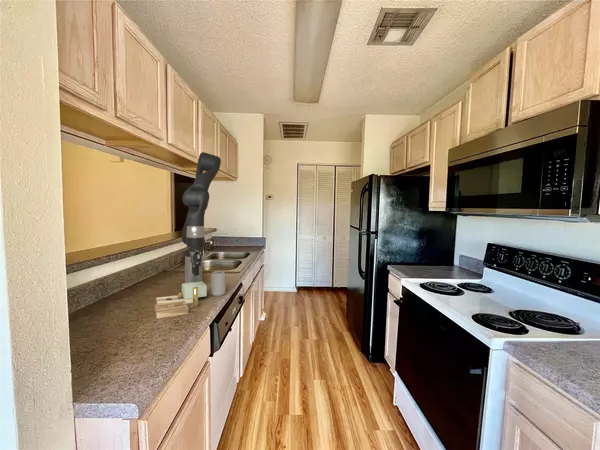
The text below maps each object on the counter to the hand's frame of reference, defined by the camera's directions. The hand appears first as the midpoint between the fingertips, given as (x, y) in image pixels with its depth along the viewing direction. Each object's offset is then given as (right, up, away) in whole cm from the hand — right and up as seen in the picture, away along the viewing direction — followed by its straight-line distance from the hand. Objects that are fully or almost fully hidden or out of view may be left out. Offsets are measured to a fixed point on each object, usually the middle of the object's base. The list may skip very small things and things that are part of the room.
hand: (195, 274), depth 125 cm
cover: (-5, -12, +12) cm, 18 cm away
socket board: (-8, -15, -5) cm, 18 cm away
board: (-13, -14, +8) cm, 21 cm away
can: (+4, -14, +20) cm, 25 cm away
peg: (0, -15, +1) cm, 15 cm away
